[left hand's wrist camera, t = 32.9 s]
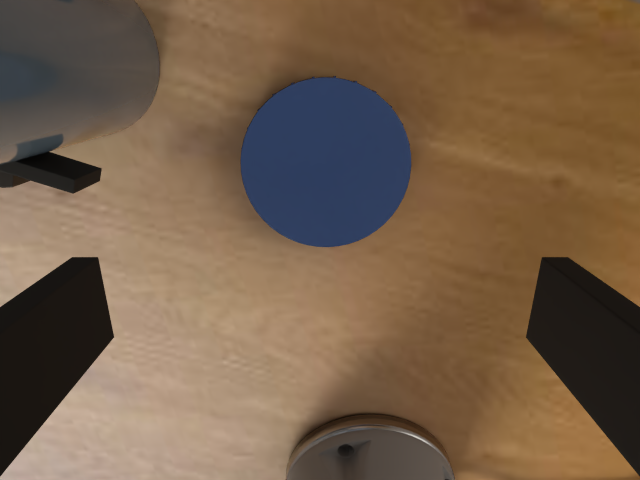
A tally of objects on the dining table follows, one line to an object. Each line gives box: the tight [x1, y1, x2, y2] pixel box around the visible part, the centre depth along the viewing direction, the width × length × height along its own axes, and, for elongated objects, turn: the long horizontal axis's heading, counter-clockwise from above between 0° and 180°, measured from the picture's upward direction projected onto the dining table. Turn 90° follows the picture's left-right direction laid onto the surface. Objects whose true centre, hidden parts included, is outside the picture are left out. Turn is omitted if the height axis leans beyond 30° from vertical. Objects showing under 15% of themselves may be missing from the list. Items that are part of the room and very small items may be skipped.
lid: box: [241, 76, 411, 247], centre depth 27 cm, size 11×11×2 cm
